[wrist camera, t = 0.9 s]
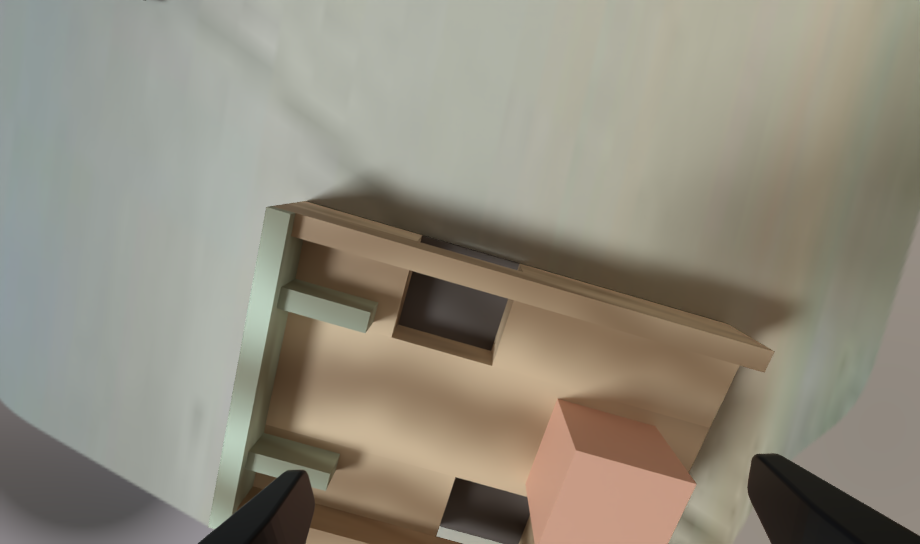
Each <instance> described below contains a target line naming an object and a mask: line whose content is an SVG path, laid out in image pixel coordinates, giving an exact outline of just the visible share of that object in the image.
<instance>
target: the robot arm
mask: <svg viewBox="0 0 920 544" xmlns="http://www.w3.org/2000/svg"><path fill="white" fill-rule="evenodd" d="M747 488H748V495H749V498H750V500H751V503H752V505H753V507H754V509H755V511H756V513H757V515H758V517H759V519H760V521H761V523H762V525H763V527H764V529H765V531H766V534H767V536H768V538H769V540H770V542H771V544H920V536H919V535H917V534H915V533H914V532H912V531H910V530H909V529H907V528H905V527H903V526H902V525H900V524H898V523H896V522H895V521H893V520H891V519H889V518H888V517H886V516H885V515H883V514H881V513H879V512H878V511H876V510H874V509H872V508H871V507H869V506H867V505H866V504H864V503H862V502H860V501H859V500H857V499H855V498H853V497H852V496H850V495H848V494H846V493H845V492H843V491H841V490H840V489H838V488H836V487H835V486H833V485H831V484H829V483H828V482H826V481H824V480H822V479H821V478H819V477H817V476H816V475H814V474H812V473H811V472H809V471H807V470H805V469H804V468H802V467H800V466H799V465H797V464H795V463H793V462H792V461H790V460H788V459H786V458H785V457H783V456H781V455H779V454H774V453H772V454H756V455H754V456H753V458H752V461H751V467H750V473H749V479H748V487H747ZM314 509H315V498H314V494H313V490H312V486H311V483H310V479H309V475H308V473H307V471H305V470H287V471H285V472H284V473H282V474H281V475H280V476H279V477H277V478H276V479H275V480H274V481H273V482H271V483H270V484H269V485H268V486H267V487H265V488H264V489H263V490H262V491H260V492H259V493H258V494H257V495H256V496H254V497H253V498H252V499H251V500H250V501H248V502H247V503H246V504H245V505H244V506H242V507H241V508H240V509H239V510H238V511H236V512H235V513H234V514H233V515H232V516H230V517H229V518H228V519H227V520H225V521H224V522H223V523H222V524H221V525H219V526H218V527H217V528H216V529H215V530H213V531H212V532H211V533H210V534H209V535H207V536H206V537H205V538H204V539H203V540H201V541H200V542H199V543H198V544H306V540H307V536H308V533H309V529H310V525H311V521H312V518H313V514H314Z"/></svg>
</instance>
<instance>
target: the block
mask: <svg viewBox="0 0 920 544" xmlns="http://www.w3.org/2000/svg"><path fill="white" fill-rule="evenodd" d="M525 485H526V491H527V498H528V504H529V511H530V517H531V523H532V530H533V536H534V543H535V544H668V542H669V540H670V538H671V536H672V534H673V532H674V530H675V528H676V526H677V524H678V522H679V520H680V518H681V515H682V513H683V511H684V509H685V507H686V505H687V503H688V501H689V499H690V497H691V495H692V493H693V491H694V489H695V486H696V483H695V481H694V480H693V478H692V477H691V476H690V474H689V473H688V471H687V470H686V469H685V467H684V466H683V464H682V463H681V462H680V460H679V459H678V457H677V456H676V454H675V453H674V452H673V450H672V449H671V447H670V446H669V445H668V443H667V442H666V440H665V439H664V438H663V436H662V435H661V433H660V432H659V431H658V429H657V428H656V426H652V425H649V424H645V423H642V422H638V421H635V420H631V419H628V418H624V417H621V416H617V415H613V414H610V413H606V412H603V411H599V410H596V409H592V408H589V407H585V406H582V405H578V404H575V403H571V402H568V401H564V400H561V399H557V401H556V404H555V406H554V409H553V412H552V414H551V417H550V420H549V422H548V425H547V428H546V430H545V433H544V436H543V438H542V441H541V444H540V446H539V449H538V452H537V454H536V457H535V460H534V462H533V465H532V468H531V470H530V473H529V476H528V478H527V481H526V484H525Z"/></svg>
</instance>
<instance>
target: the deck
mask: <svg viewBox="0 0 920 544" xmlns="http://www.w3.org/2000/svg"><path fill="white" fill-rule="evenodd" d="M773 354H774V351H772V350H771V349H769V348H767V347H766V346H764V345H762V344H761V343H759V342H757V341H756V340H754V339H752V338H750V337H749V336H747V335H745V334H744V333H742V332H740V331H739V330H737V329H735V328H734V327H732V326H730V325H729V324H726V323H723V322H719V321H716V320H712V319H709V318H705V317H702V316H699V315H695V314H692V313H688V312H685V311H681V310H678V309H674V308H671V307H668V306H664V305H661V304H657V303H654V302H650V301H647V300H644V299H640V298H637V297H633V296H630V295H626V294H623V293H619V292H616V291H613V290H609V289H606V288H602V287H599V286H595V285H592V284H588V283H585V282H582V281H578V280H575V279H571V278H568V277H564V276H561V275H558V274H554V273H551V272H547V271H544V270H540V269H537V268H533V267H530V266H527V265H523V264H520V263H516V262H513V261H509V260H506V259H502V258H499V257H496V256H492V255H489V254H485V253H482V252H478V251H475V250H471V249H468V248H465V247H461V246H458V245H454V244H451V243H447V242H444V241H441V240H437V239H434V238H430V237H427V236H423V235H420V234H416V233H413V232H410V231H406V230H403V229H399V228H396V227H392V226H389V225H385V224H382V223H379V222H375V221H372V220H368V219H365V218H361V217H358V216H354V215H351V214H348V213H344V212H341V211H337V210H334V209H330V208H327V207H324V206H320V205H317V204H313V203H310V202H306V201H303V202H297V203H290V204H283V205H276V206H270V207H266V211H265V217H264V222H263V228H262V233H261V239H260V244H259V250H258V256H257V261H256V267H255V272H254V278H253V283H252V289H251V294H250V300H249V305H248V311H247V316H246V322H245V327H244V333H243V338H242V344H241V349H240V355H239V360H238V366H237V371H236V377H235V382H234V388H233V393H232V399H231V404H230V410H229V415H228V421H227V426H226V432H225V438H224V443H223V449H222V454H221V460H220V465H219V471H218V476H217V482H216V487H215V493H214V498H213V504H212V509H211V515H210V520H209V526H208V527H210V528H213V529H216V528H217V527H218V526H219V525H221V524H222V523H223V522H224V521H225V520H227V519H228V518H229V517H230V516H232V515H233V514H234V513H235V512H236V511H238V510H239V509H240V508H241V507H242V506H244V505H245V504H246V503H247V502H248V501H250V500H251V499H252V498H253V497H254V496H256V495H257V494H258V493H259V492H260V491H262V490H263V489H264V488H265V487H267V486H268V485H269V484H270V483H271V482H273V481H274V480H275V479H276V478H277V477H279V476H280V475H281V474H282V473H284V472H285V471H287V470H305V471H307V473H308V475H309V479H310V483H311V486H312V490H313V494H314V498H315V509H314V514H313V518H312V521H311V525H310V529H309V533H308V536H307V540H306V544H462V543H458V542H455V541H451V540H447V539H444V538H440V537H436V535H437V532H438V529H439V526H441V527H445V528H448V529H452V530H456V531H459V532H463V533H467V534H470V535H474V536H478V537H481V538H485V539H489V540H492V541H496V542H499V543H503V544H535V543H534V536H533V530H532V523H531V517H530V511H529V504H528V498H527V491H526V485H525V484H526V481H527V478H528V476H529V473H530V470H531V468H532V465H533V462H534V460H535V457H536V454H537V452H538V449H539V446H540V444H541V441H542V438H543V436H544V433H545V430H546V428H547V425H548V422H549V420H550V417H551V414H552V412H553V409H554V406H555V404H556V401H557V399H561V400H564V401H568V402H571V403H575V404H578V405H582V406H585V407H589V408H592V409H596V410H599V411H603V412H606V413H610V414H613V415H617V416H621V417H624V418H628V419H631V420H635V421H638V422H642V423H645V424H649V425H652V426H656V428H657V429H658V431H659V432H660V433H661V435H662V436H663V438H664V439H665V440H666V442H667V443H668V445H669V446H670V447H671V449H672V450H673V452H674V453H675V454H676V456H677V457H678V459H679V460H680V462H681V463H682V464H683V466H684V467H685V469H686V470H687V471H688V473H689V471H690V469H691V467H692V465H693V463H694V461H695V459H696V457H697V454H698V452H699V450H700V448H701V446H702V444H703V442H704V440H705V438H706V435H707V433H708V431H709V429H710V427H711V425H712V423H713V421H714V419H715V416H716V414H717V412H718V410H719V408H720V406H721V404H722V402H723V400H724V397H725V395H726V393H727V391H728V389H729V387H730V385H731V383H732V381H733V378H734V376H735V374H736V372H737V370H738V368H739V366H743V367H747V368H750V369H754V370H757V371H761V372H765V370H766V368H767V366H768V364H769V362H770V360H771V358H772V356H773Z"/></svg>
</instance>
